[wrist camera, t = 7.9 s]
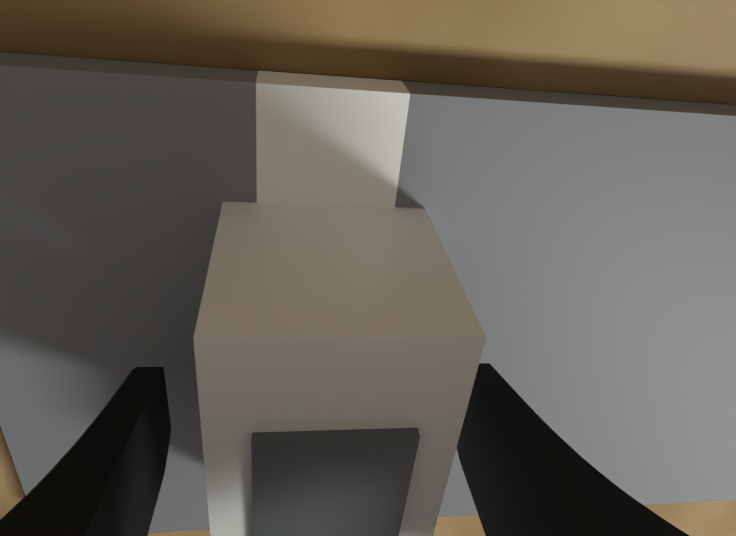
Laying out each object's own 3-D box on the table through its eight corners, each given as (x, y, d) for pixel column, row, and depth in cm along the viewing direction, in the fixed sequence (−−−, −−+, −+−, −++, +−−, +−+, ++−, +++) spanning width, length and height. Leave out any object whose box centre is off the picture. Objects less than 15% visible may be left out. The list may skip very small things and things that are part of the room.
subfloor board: (765, 474, 22) (784, 497, 21) (52, 509, 18) (40, 538, 17) (1020, 125, 14) (1066, 138, 14) (-99, 45, 10) (-133, 56, 9)
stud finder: (380, 471, 17) (409, 637, 13) (234, 477, 16) (218, 654, 12) (425, 208, 12) (489, 345, 8) (223, 201, 12) (191, 347, 8)
